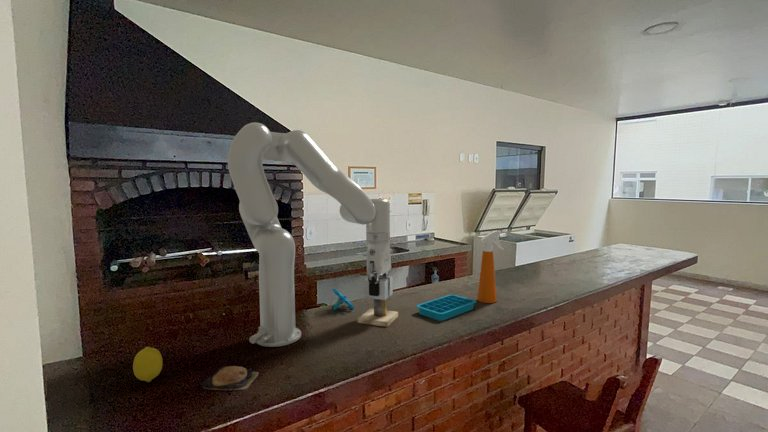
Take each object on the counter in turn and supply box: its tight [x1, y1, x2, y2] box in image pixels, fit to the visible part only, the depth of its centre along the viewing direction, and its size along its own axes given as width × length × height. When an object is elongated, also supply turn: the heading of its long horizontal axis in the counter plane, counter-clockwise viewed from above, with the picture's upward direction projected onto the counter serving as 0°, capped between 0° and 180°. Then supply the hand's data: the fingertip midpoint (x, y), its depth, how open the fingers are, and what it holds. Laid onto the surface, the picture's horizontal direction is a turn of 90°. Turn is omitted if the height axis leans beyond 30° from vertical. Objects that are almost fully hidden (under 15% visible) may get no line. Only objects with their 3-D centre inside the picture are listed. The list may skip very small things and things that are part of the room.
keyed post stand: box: [357, 298, 399, 328], centre depth 121 cm, size 10×10×7 cm
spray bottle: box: [476, 230, 505, 304], centre depth 140 cm, size 7×11×26 cm, turn 112°
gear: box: [332, 287, 355, 311], centre depth 131 cm, size 11×6×10 cm
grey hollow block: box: [363, 275, 394, 300], centre depth 120 cm, size 7×7×6 cm
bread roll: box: [200, 365, 260, 391], centre depth 83 cm, size 11×8×4 cm
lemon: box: [132, 346, 163, 383], centre depth 82 cm, size 6×6×8 cm
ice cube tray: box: [415, 294, 478, 322], centre depth 129 cm, size 12×20×3 cm, turn 132°
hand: (378, 291), depth 120 cm, fingers closed on grey hollow block, 7 cm apart
